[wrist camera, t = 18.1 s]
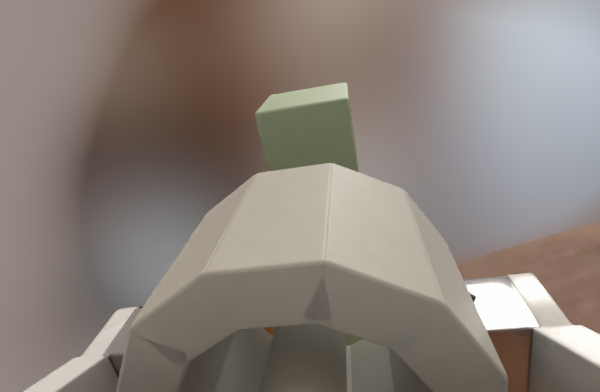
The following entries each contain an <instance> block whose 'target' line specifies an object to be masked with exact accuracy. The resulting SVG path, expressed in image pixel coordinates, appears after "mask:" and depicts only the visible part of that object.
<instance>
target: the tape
mask: <svg viewBox="0 0 600 392" xmlns="http://www.w3.org/2000/svg"><path fill="white" fill-rule="evenodd" d="M304 324H320V325H323V326H326V327H329V328H332V329H335V330H338V331H341V332H343V333H346V334H349V335H352V336H355V337H358V338H361V339H362V340H360V341H358V342H356V343H354V344H353V345H350V346H346V369H347V392H508V377H507V374H506V371H505V369H504V367H503V365H502V363H501V361H500V358H499V356H498V354H497V352H496V350H495V348H494V345H493V343H492V341H491V339H490V337H489V335H488V332H487V330H486V328H485V326H484V324H483V321H482V319H481V317H480V315H479V313H478V311H477V308H476V306H475V304H474V302H473V300H472V298H471V295H470V293H469V291H468V289H467V287H466V285H465V282H464V280H463V278H462V276H461V274H460V272H459V269H458V267H457V265H456V263H455V261H454V259H453V256H452V254H451V253H450V250H449V248H448V246H447V244H446V241H445V240H444V239H443V237H442V236H441V235H440V234H439V232H438V231H437V230H436V229H435V227H434V226H433V225H432V224H431V222H430V221H429V220H428V219H427V217H426V216H425V215H424V214H423V213H422V211H421V210H420V209H419V207H418V206H417V205H416V204H415V202H414V201H413V200H412V199H411V197H410V196H409V195H408V194H407V192H406V191H404V190H403V189H402V188H399V187H396V186H394V185H391V184H388V183H385V182H383V181H380V180H377V179H375V178H372V177H369V176H367V175H364V174H361V173H359V172H356V171H353V170H350V169H348V168H345V167H342V166H340V165H337V164H334V163H325V164H318V165H311V166H304V167H297V168H290V169H283V170H276V171H269V172H262V173H258V174H255V175H254V176H252V177H251V178H250V179H249V180H248V181H246V182H245V183H244V184H243V185H242V186H240V187H239V188H238V189H236V190H235V191H234V192H233V193H231V194H230V195H229V196H228V197H226V198H225V199H224V200H223V201H221V202H220V203H219V204H218V205H217V206H215V207H214V208H213V209H212V210H210V211H209V212H208V213H207V214H206V215H205V217H204V218H203V220H202V221H201V223H200V224H199V225H198V227H197V228H196V230H195V231H194V233H193V234H192V236H191V237H190V239H189V240H188V242H187V243H186V245H185V246H184V247H183V249H182V251H181V252H180V253H179V255H178V256H177V258H176V259H175V261H174V262H173V264H172V265H171V267H170V268H169V269H168V271H167V273H166V274H165V275H164V277H163V278H162V280H161V281H160V283H159V284H158V286H157V287H156V289H155V290H154V291H153V293H152V294H151V296H150V297H149V299H148V300H147V302H146V303H145V305H144V306H143V308H142V309H141V311H140V312H139V313H138V315H137V316H136V318H135V319H134V321H133V322H132V324H131V326H130V327H129V331H128V336H127V340H126V345H125V350H124V355H123V359H122V364H121V369H120V374H119V378H118V383H117V388H116V392H261V390H262V385H263V381H264V376H265V371H266V366H267V362H268V357H269V352H270V347H271V342H272V338H273V335H270V334H269V333H268V332H267V331H266V330H265V329H264V327H277V326H290V325H304Z"/></svg>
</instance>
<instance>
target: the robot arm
mask: <svg viewBox="0 0 600 392" xmlns="http://www.w3.org/2000/svg"><path fill="white" fill-rule="evenodd" d="M464 282H465V285H466V287H467V289H468V291H469V293H470V295H471V298H472V300H473V302H474V304H475V306H476V308H477V311H478V313H479V315H480V317H481V319H482V321H483V324H484V326H485V328H486V330H487V332H488V335H489V337H490V339H491V341H492V343H493V345H494V348H495V350H496V352H497V354H498V356H499V358H500V361H501V363H502V365H503V367H504V369H505V371H506V374H507V377H508V392H600V334H598V333H596V332H594V331H592V330H590V329H588V328H586V327H584V326H582V325H572V324H571V323H570V321H569V320H568V319H567V317H566V316H565V315H564V313H563V312H562V311H561V309H560V308H559V307H558V305H557V304H556V303H555V301H554V300H553V299H552V297H551V296H550V295H549V293H548V292H547V291H546V290H545V288H544V287H543V286H542V284H541V283H540V282H539V280H538V279H537V278H536V276H535V275H533V274H532V273H523V274H514V275H506V276H502V277H491V278H480V279H469V280H464ZM142 308H143V306H142V307H129V308H121V309H119V310H117V311H116V312H115V313H114V314H113V316H112V317H111V319H110V320H109V321H108V322H107V324H106V325H105V326H104V328H103V329H102V330H101V331H100V333H99V334H98V335H97V337H96V338H95V339H94V340H93V342H92V343H91V345H90V346H89V347H88V348H87V350H86V351H85V352H84V353H83V355H82V356H81V357H78V358H74V359H72V360H70V361H69V362H67V363H66V364H65V365H63V366H61V367H60V368H58V369H57V370H55V371H54V372H52V373H51V374H49V375H48V376H46V377H45V378H43V379H41V380H40V381H38V382H37V383H35V384H34V385H32V386H31V387H29V388H28V389H26V390H25V391H23V392H116V388H117V383H118V378H119V374H120V369H121V364H122V359H123V355H124V350H125V345H126V340H127V336H128V331H129V327H130V326H131V324H132V322H133V321H134V319H135V318H136V316H137V315H138V313H139V312H140V311H141V309H142Z"/></svg>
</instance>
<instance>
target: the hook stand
mask: <svg viewBox="0 0 600 392" xmlns="http://www.w3.org/2000/svg"><path fill="white" fill-rule="evenodd" d="M255 117H256V122H257V126H258V131H259V135H260V139H261V144H262V148H263V152H264V156H265V161H266V165H267V170H268V172H269V171H276V170H283V169H290V168H297V167H304V166H311V165H318V164H325V163H334V164H337V165H340V166H342V167H345V168H348V169H350V170H353V171H356V172H359V169H358V161H357V153H356V147H355V138H354V130H353V123H352V115H351V107H350V100H349V92H348V85H347V83H339V84H333V85H327V86H321V87H316V88H310V89H305V90H298V91H292V92H287V93H281V94H275V95H271V96H269V98H268V99H267V100H266V101H265V102H264V103H263V105H262V106H261V107H260V108H259V109H258V110H257V111H256V113H255ZM360 340H362V339H361V338H358V337H355V336H352V335H349V334H346V333H343V332H341V331H338V330H335V329H332V328H329V327H326V326H323V325H320V324H304V325H290V326H277V327H275V328H274V333H273V338H272V342H271V347H270V352H269V357H268V362H267V366H266V371H265V376H264V381H263V385H262V390H261V392H347V369H346V346H350V345H353V344H354V343H356V342H358V341H360Z"/></svg>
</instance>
